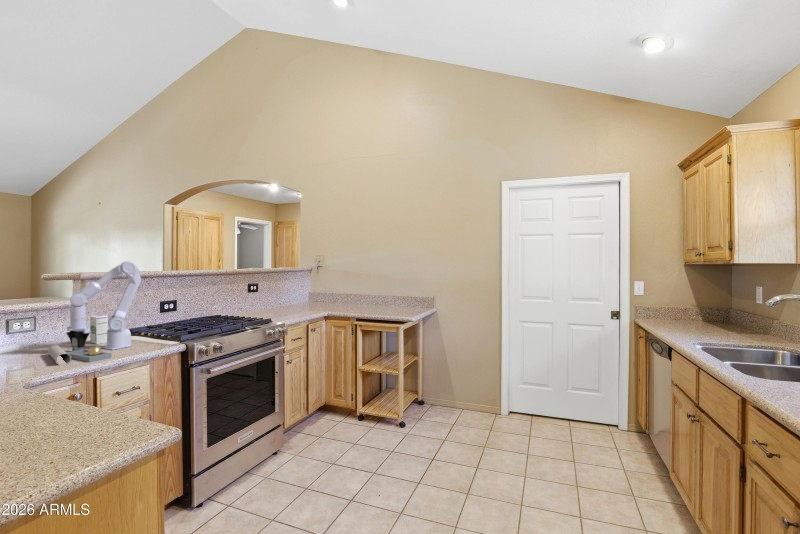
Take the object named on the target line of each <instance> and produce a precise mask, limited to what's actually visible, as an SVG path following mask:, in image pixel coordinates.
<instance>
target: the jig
mask: <svg viewBox="0 0 800 534" xmlns="http://www.w3.org/2000/svg"><path fill="white" fill-rule="evenodd" d="M65 352H66V353H68V354H69V355H70V356H71V358H73V359H72V360H76V359H77V361H81V360H82V362H87V363H93V362H97V361H102V360H106V358H107V359H111V357H112V355H113V354H112V352H107V351H102V350H101V355H96V356H88V348H84V349H82V350H76V351H72V350H71V351H65Z"/></svg>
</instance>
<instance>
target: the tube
mask: <svg viewBox="0 0 800 534" xmlns="http://www.w3.org/2000/svg"><path fill="white" fill-rule="evenodd" d="M66 352H67V351H66V350H64V349H63V348H62V347H60V346H59V345H58V344H57V345H51V346H50V347H49V348H48V349H47V354H48V355H50V357H51V358H52V359H53V360H54V362H55V363H56V364H57V365H58V366H60V365H59V363H58V362H57V357H58V356H61V357H62V358H63V360H64V361H65V362H66V364H65V365H68V364H69V363H71V362H72V359H71V356H70V355H69V354H68V353H66Z"/></svg>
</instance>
